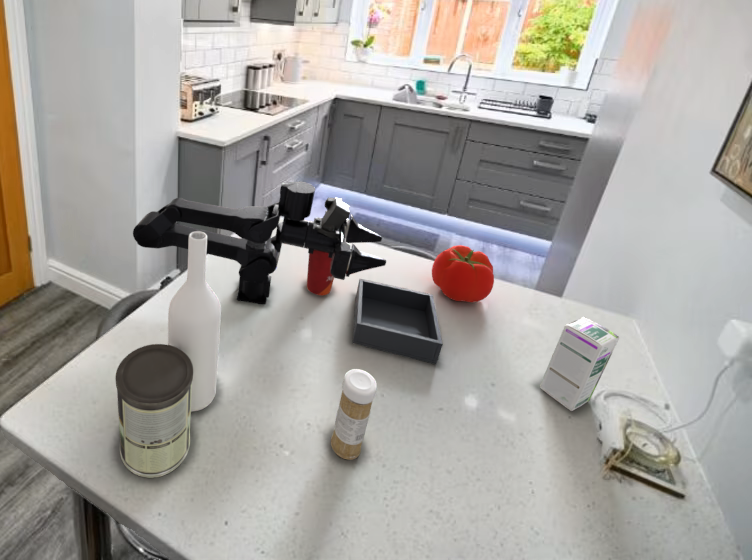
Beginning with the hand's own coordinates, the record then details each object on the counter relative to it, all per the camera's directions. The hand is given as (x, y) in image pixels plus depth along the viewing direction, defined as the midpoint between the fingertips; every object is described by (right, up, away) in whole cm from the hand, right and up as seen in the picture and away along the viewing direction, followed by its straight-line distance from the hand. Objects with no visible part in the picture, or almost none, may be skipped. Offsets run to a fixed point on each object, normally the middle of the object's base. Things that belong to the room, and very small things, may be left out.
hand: (383, 250), depth 87 cm
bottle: (-37, -21, -14) cm, 45 cm away
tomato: (+23, -13, +17) cm, 31 cm away
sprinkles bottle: (-13, -26, -22) cm, 36 cm away
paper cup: (-10, -11, +14) cm, 21 cm away
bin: (+3, -17, +4) cm, 17 cm away
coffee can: (-41, -25, -23) cm, 53 cm away
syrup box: (+29, -24, -9) cm, 39 cm away
